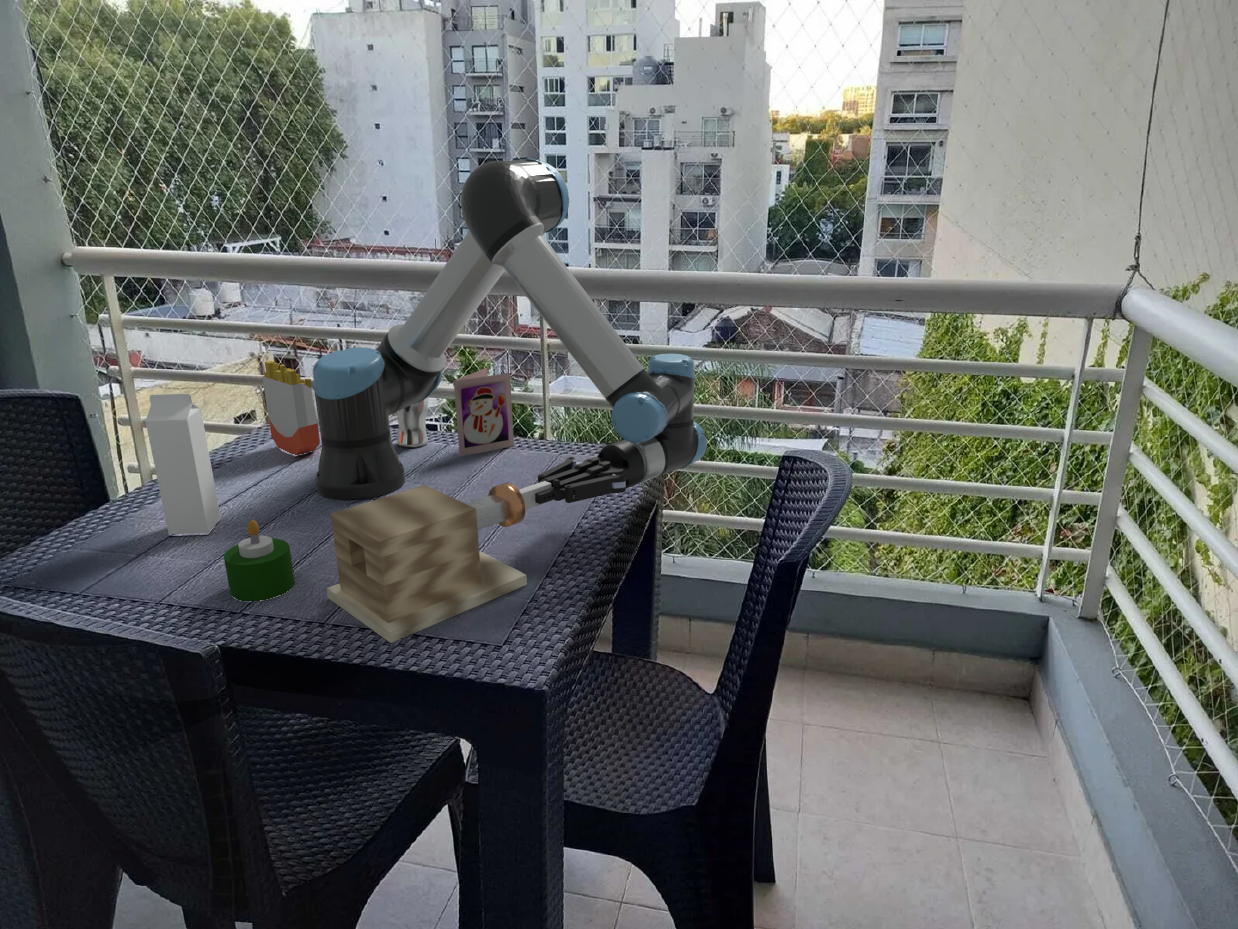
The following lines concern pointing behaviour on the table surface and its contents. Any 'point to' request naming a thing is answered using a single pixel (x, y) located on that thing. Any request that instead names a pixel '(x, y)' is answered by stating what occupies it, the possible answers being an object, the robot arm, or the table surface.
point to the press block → (413, 562)
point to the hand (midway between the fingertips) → (513, 502)
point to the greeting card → (483, 412)
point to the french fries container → (290, 409)
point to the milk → (182, 464)
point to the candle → (259, 567)
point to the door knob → (500, 507)
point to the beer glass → (413, 425)
